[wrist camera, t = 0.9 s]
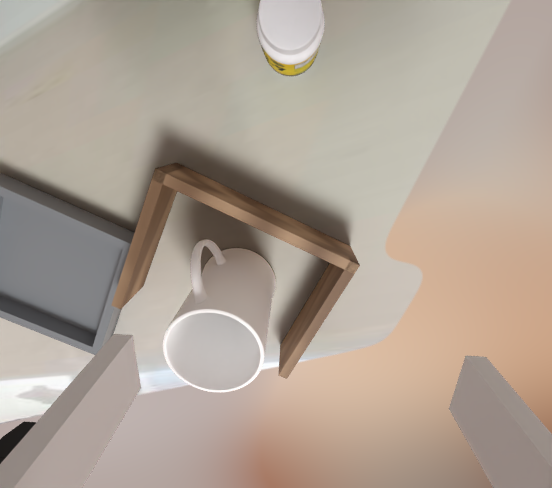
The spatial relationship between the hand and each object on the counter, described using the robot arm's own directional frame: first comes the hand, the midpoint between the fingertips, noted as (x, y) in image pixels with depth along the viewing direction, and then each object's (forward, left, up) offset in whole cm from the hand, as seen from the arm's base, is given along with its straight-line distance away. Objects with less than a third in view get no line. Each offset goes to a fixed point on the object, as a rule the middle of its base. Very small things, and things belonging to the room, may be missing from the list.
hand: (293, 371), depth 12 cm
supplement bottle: (-7, +14, -21) cm, 27 cm away
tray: (-22, -17, -21) cm, 35 cm away
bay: (-3, -8, -21) cm, 23 cm away
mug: (-3, -8, -21) cm, 23 cm away
